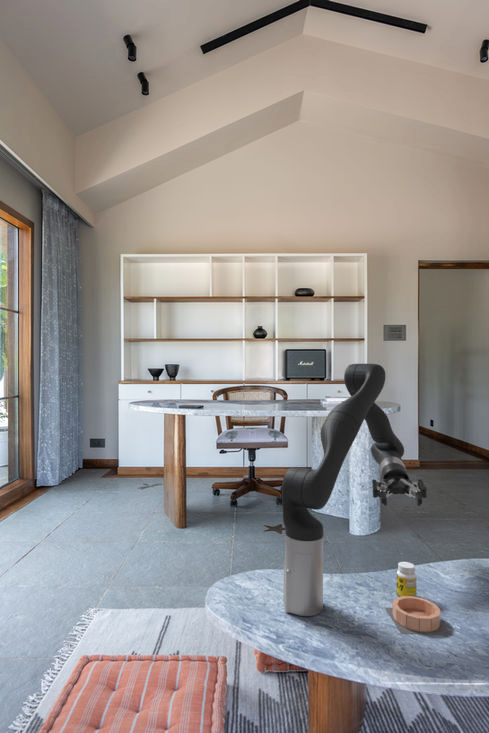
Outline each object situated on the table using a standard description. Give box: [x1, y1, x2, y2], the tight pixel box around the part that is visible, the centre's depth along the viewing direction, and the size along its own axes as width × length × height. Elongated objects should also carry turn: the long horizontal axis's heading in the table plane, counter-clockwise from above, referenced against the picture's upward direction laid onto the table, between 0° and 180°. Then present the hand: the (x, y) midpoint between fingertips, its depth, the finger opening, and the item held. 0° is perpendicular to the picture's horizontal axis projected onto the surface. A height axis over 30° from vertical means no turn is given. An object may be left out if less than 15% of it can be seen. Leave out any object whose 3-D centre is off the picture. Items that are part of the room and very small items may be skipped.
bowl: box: [391, 596, 442, 633], centre depth 100 cm, size 10×10×3 cm
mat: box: [384, 607, 452, 635], centre depth 99 cm, size 11×11×1 cm
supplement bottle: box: [396, 561, 417, 598], centre depth 111 cm, size 5×5×8 cm
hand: (402, 502), depth 116 cm, fingers open, 8 cm apart
